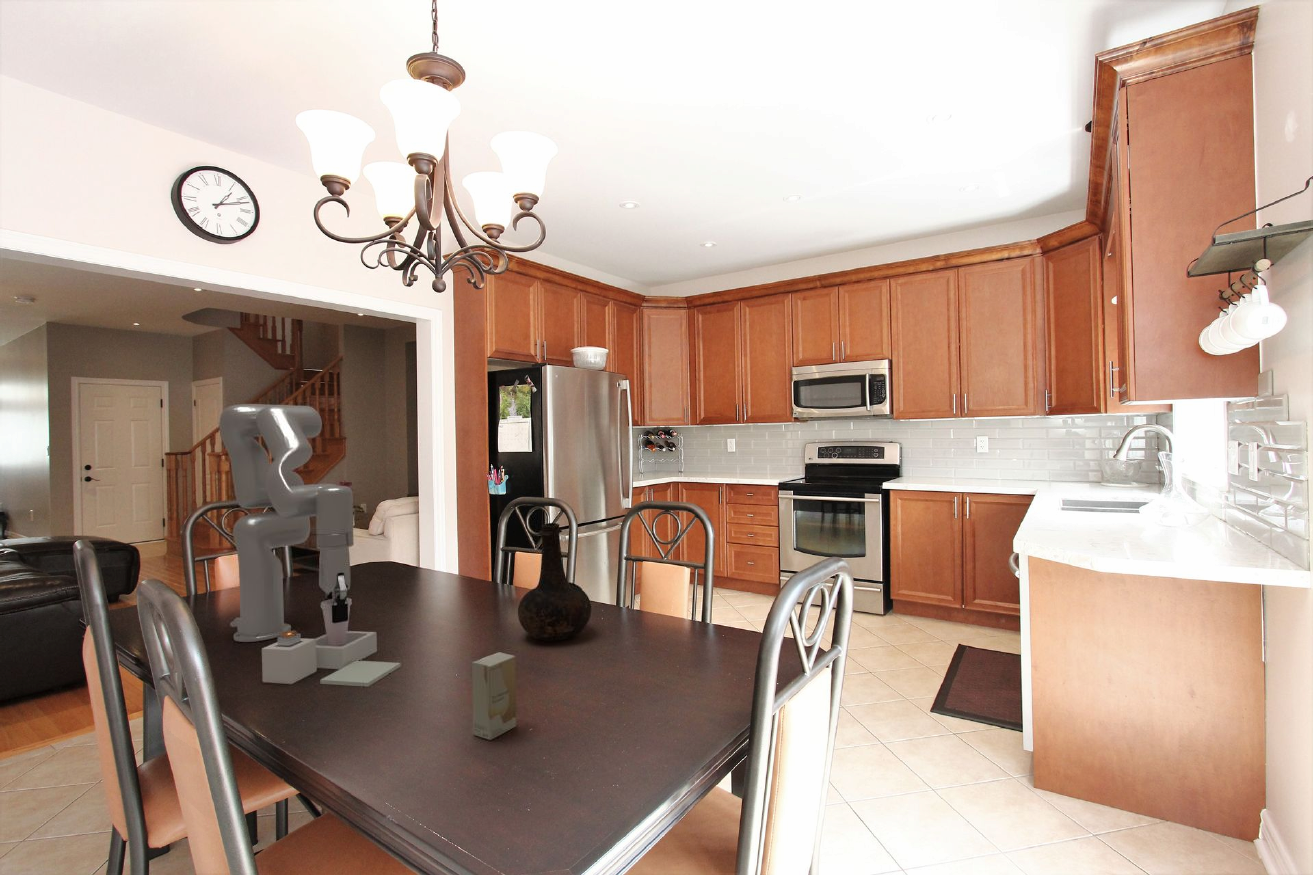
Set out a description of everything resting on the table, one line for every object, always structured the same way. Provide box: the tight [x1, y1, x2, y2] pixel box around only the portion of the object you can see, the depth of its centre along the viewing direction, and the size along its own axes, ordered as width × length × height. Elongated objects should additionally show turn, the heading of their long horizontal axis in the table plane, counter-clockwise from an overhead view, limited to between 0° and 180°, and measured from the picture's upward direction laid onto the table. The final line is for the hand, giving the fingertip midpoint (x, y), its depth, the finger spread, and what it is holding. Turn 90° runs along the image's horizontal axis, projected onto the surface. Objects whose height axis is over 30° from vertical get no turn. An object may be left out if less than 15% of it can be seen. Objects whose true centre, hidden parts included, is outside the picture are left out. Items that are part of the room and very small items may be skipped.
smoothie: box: [320, 589, 353, 646], centre depth 143 cm, size 6×6×14 cm
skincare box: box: [471, 651, 517, 741], centre depth 106 cm, size 6×4×12 cm
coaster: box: [319, 660, 402, 688], centre depth 132 cm, size 11×11×1 cm
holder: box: [315, 630, 378, 670], centre depth 143 cm, size 11×11×4 cm
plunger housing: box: [261, 637, 318, 685], centre depth 133 cm, size 7×7×7 cm
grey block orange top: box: [276, 630, 302, 647], centre depth 132 cm, size 3×3×7 cm
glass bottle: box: [517, 522, 592, 642], centre depth 155 cm, size 18×18×28 cm
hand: (336, 617), depth 143 cm, fingers closed on smoothie, 6 cm apart
